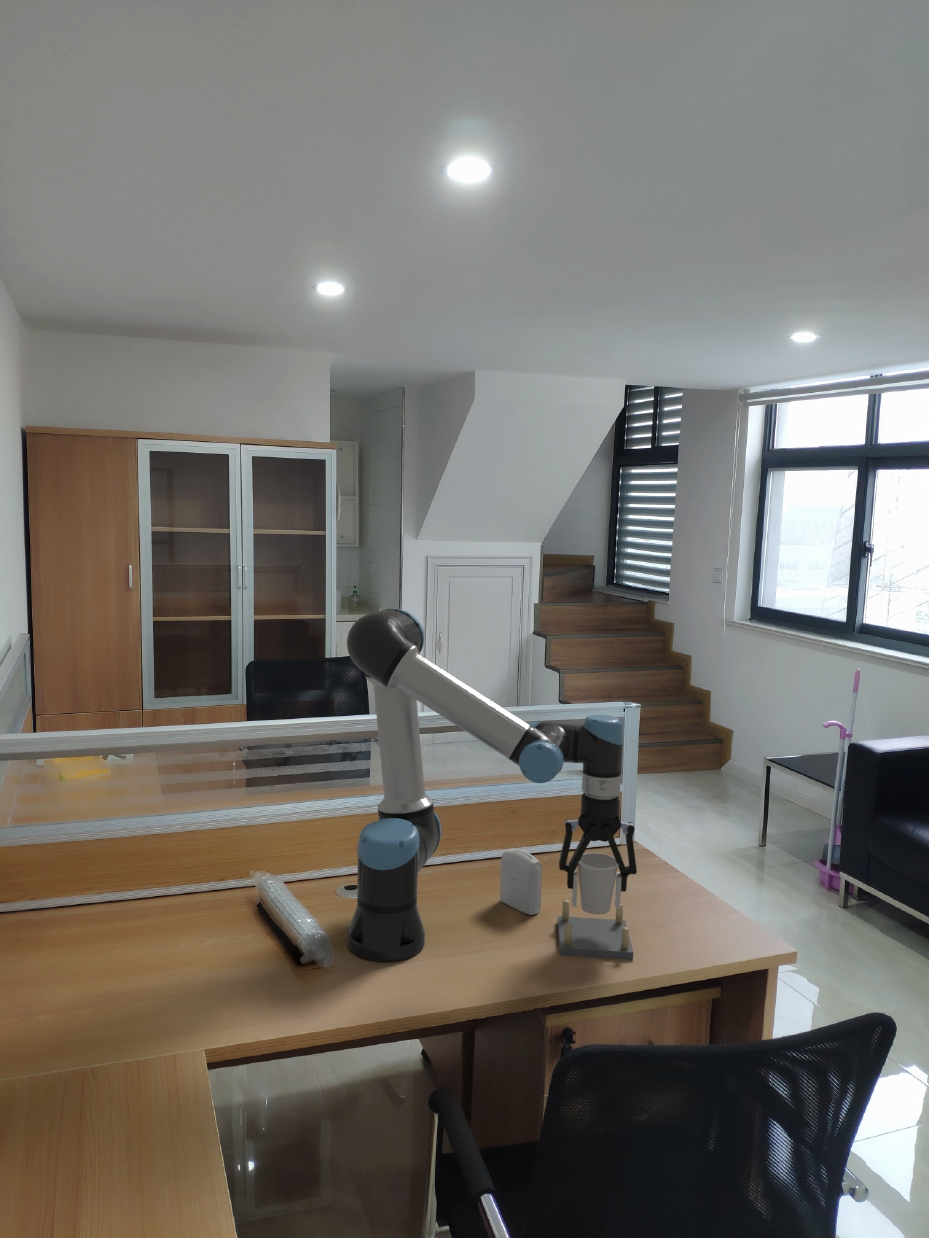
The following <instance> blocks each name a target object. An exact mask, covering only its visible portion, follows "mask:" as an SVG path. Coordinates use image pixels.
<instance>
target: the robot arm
mask: <svg viewBox="0 0 929 1238" xmlns="http://www.w3.org/2000/svg"><path fill="white" fill-rule="evenodd" d="M424 643H425V630H424V628H423V626H422V624H421V622H420V620H419V619H418V618H417V617H416V616H415V615H414V614H412V613H410V612H409V611H407V610H405V609H404V610H403V609H401V608H400V609H399V608H386V609H382V610H380V611H379V610H378V611H377V612H373V613H372V612H371V613H369V614H365V615H363V616H361V617H360V618H358V619H357V620H356V621H355V622H354V623H353V624H352V626H351V628H350V629H349V631H348V634H347V639H346V647H347V652H348V655H349V658H350V659H351V661H352V663H353V665H355V666H356V667H357V668H358V669H359V670H361V671H362V672H363V673H364V676H365V679H366V680H368V681H369V683H371V684H372V685H373V690H374V692H373V693H374V704H375V715H376V723H377V724H376V725H377V726H376V727H377V734H378V735H377V736H378V746H379V747H378V749H379V756H380V768H381V777H382V788H383V799H382V800H381V801H380V802H379V804H378V805H377V813H378V814H377V815H378V820H377V821H375V820H373V821H371V822H369V823H368V824H366V825H365V826H364V827H363V828H362V830H361V831H360V832H359V836H358V842H357V849H356V850H357V891H356V892H357V893H356V895H357V899H356V900H357V903H356V907H355V910H354V913H353V916H352V919H351V921H350V923H349V924H350V925H349V927H348V930H347V942H346V944H347V949H348V950H349V952H351V953H352V954H354V955H355V956H357V957H359V958H361V959H364V960H369V961H374V962H384V963H385V962H398V961H402V960H406V959H409V958H412V957H414V956H416V955H418V954H419V953H420V952H422V950H423V949H424V947H425V942H426V941H425V938H426V932H425V929H424V924H423V921H422V918H421V915H420V912H419V909H418V905H417V904H418V876H419V873H420V871H421V869H423V867H424V866H425V864H427V863H428V861H429V859H431V857H433V855H434V854H435V852H437V850H438V847H439V845H440V841H441V837H442V824H441V820H440V818H439V816H438V814H437V813H436V812H435V807H434V800H433V798H432V797H430V796H429V795H428V794H427V793H426V790H425V789H426V788H425V780H424V779H425V778H424V768H423V767H424V765H423V757H422V745H421V744H422V743H421V734H420V723H419V713H418V703H417V701H418V702H419V703H421V704H422V705H424V706H425V707H428V708H429V709H430V710H432V711H433V712H435V713H437V714H438V715H439V716H441V717H442V718H444V719H446V720H447V721H449V722H450V723H452V724H454V725H455V726H457V727H458V728H459V729H462V730H463V731H464V732H465V733H468V734H469V735H471V736H472V737H474V738H475V739H476V740H478V741H480V742H481V743H483V744H485V745H486V746H488V747H490V748H491V749H493V750H494V751H495V752H497V753H499V754H500V755H502V756H503V757H505V758H506V759H508V760H509V761H511V762H513V763H514V764H515V765H517V766H518V767H519V770H520V772H521V773H522V775H523V776H524V778H525V779H527V780H529V781H530V782H532V783H535V784H546V783H549V782H551V781H552V780H553V779H555V778H556V776H557V775H558V774H559V773H561V771H562V769H563V765H564V763H571V764H582V775H581V776H582V779H581V791H582V794H581V799H580V800H581V801H580V815H579V816H578V819H569V818H566V819H565V820H564V827H565V831H564V837H563V843H562V847H561V851H560V856H559V861H558V869H559V870H560V871H564V872H566V873H567V875H566V884H567V889H570V890H572V891H571V904H572V907H574V908H577V901H578V900H577V898H578V896H577V895H578V881H579V873H578V870H577V868H578V862H579V861H580V860H581V858H582V856H583V854H585V851H586V850H587V847H589V845H590V843H591V842H599V841H601V842H604V843H608V845H609V847H610V849H611V851H612V855H613V857H614V858H615V860H616V862H617V863H618V864H619V865H618V867H617V868H618V870H619V872H618V871H617V872H616V878H615V894H614V905H615V910H616V909H620V903H621V899H622V897H621V895H622V893H621V892H627V889H628V888H627V886H628V884H627V883H628V877H629V876H630V875H636V874H637V871H638V870H637V862H636V861H637V860H636V854H635V847H634V846H635V845H634V839H633V837H634V833H635V825H634V822H631V821H628V822H624V821H622V820H621V819H620V805H621V797H620V794H621V781H622V778H621V777H622V775H621V774H622V764H623V763H622V762H623V761H622V760H623V745H624V740H623V737H624V736H623V733H624V729H623V727H624V726H623V725H624V724H623V721H622V720H621V719H620V718H618V717H616V716H613V715H608V714H607V715H606V714H591V715H587V716H586V717H585V718H584V722H583V724H580V725H579V724H568V723H567V724H566V723H560V722H559V723H557V722H548V721H547V722H546V721H543V720H541V721H529V722H527V721H525V720H523V719H522V718H520V717H519V716H517V715H515V714H514V713H512V712H511V711H509V710H507V709H506V708H504V706H503V707H502V706H501V705H500V704H498V703H496V702H495V701H493V700H491V699H490V698H489V697H488V696H486V695H484V694H482V693H481V692H479V690H476V689H474V688H473V687H472V686H470V685H468V684H467V683H465V682H464V681H462V680H460V679H459V678H457V677H456V676H454V675H453V674H451V673H450V672H448V671H446V670H445V669H443V668H442V667H440V666H439V665H437V664H435V663H434V662H432V661H431V660H429V659H428V658H426V657H424V656H423V655H421V652H422V650H423V648H424ZM577 827H580V829H581V831H582V832H583V833H582V835H581V838H580V840H579V843H578V844H577V846H576V848H575V850H574V852H573V854H572V857H571V859H570V861H569V862H568V858H569V852H570V849H571V844H572V839H573V833H574V832H575V831H576V830H577ZM620 829H622V830H621V831H622V833H623V834H624V836H625V844H626V851H627V858H628V865H627V866H626V865H625V863H624V860H623V857H622V855H621V852H620V850H619V847H618V845H617V842H616V839H615V835H616V834H617V833H618V831H619V830H620Z"/></svg>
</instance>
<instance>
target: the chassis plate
mask: <svg viewBox="0 0 929 1238" xmlns="http://www.w3.org/2000/svg"><path fill="white" fill-rule="evenodd" d="M561 910H562V911H561V912H562V914H561V916H559V915H557V931H558V932H557V933H558V944H559V945H558V947H559V955H560V956H571V957H583V958H584V957H585V958H598V957H599V958H600V959H601V958H602V959H603V958H604V959H614V958H617V960H631V961H632V960H634V949H633V946H632V941H631V938H630V927H628V926H627V921H626V920H625V919H624V904H623V903H621V902H620V909H616V908H615V919H610V918H595V917H594V918H593V917H591V918H590V917H577V916H576V917H575V916H570V900H569V899H563V900H562V909H561Z"/></svg>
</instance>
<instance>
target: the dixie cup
mask: <svg viewBox="0 0 929 1238" xmlns="http://www.w3.org/2000/svg"><path fill="white" fill-rule="evenodd" d="M618 865H619V864H618V863H617V862H616V860H615V857H614V855H613V856H612V855H609V854H606V853H602V852H587V853H585V852H584V854H583V856H582V858H581V860H580V861H579V862H578V865H577V869H578V870H577V872H578V881H579V895H580V907H581V910H582V911H583V912H586V913H588V914H591V915H605V914H608V913H609V912H610V910H611V905H612V899H613V893H614V888H615V884H616V872H618V868H619V867H618Z"/></svg>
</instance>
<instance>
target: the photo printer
mask: <svg viewBox="0 0 929 1238" xmlns="http://www.w3.org/2000/svg"><path fill="white" fill-rule="evenodd" d="M542 874H543V867H542V864H541V862H540V861H539V860H538V859H537V858H536V857H535V856H533V855H532V854H530V853H528V852H527V851H525V850H521V849H519V848H509V849H506V850H504V851H503V852H502V855H501V859H500V887H499V888H500V890H499V895H500V896H499V899H500V901H501V902H502V903H504V904H506V905H507V906H509V907H511V908H514V909H516V910H518V911H519V912H521V913H524V914H527V915H530V916H532V915H534V916H535V915H536V914H537V915H538V914H539V912H540V911H541V907H542V905H541V904H542V899H541V898H542V877H543V876H542Z"/></svg>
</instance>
